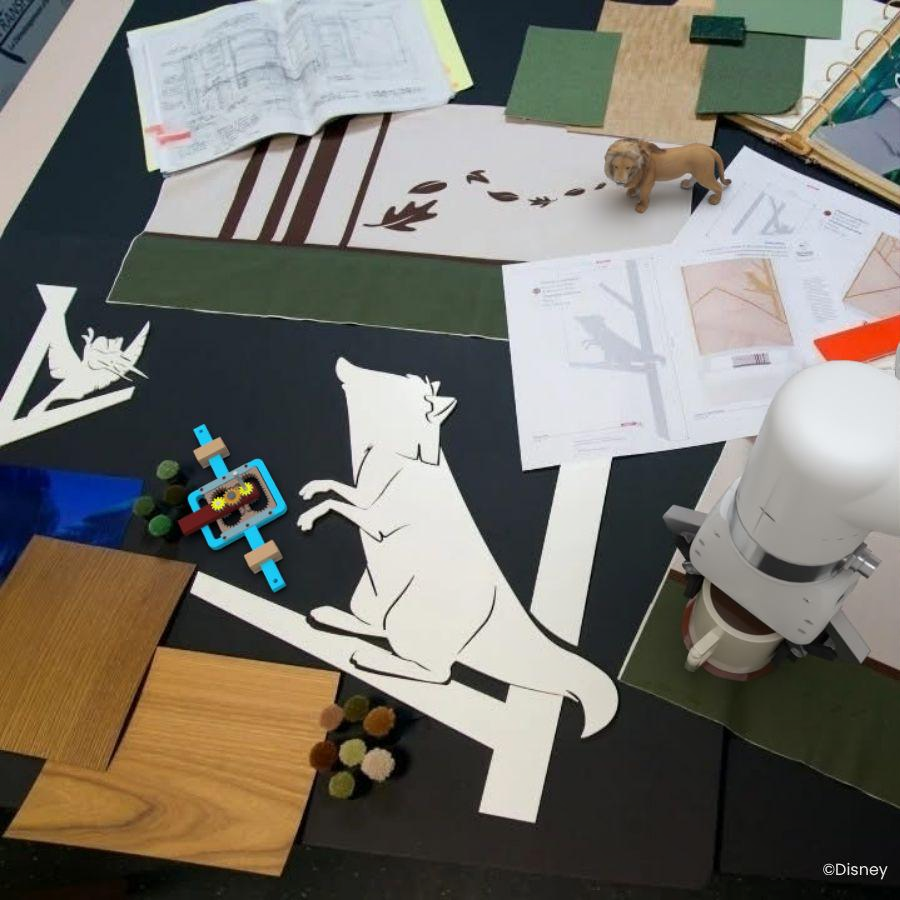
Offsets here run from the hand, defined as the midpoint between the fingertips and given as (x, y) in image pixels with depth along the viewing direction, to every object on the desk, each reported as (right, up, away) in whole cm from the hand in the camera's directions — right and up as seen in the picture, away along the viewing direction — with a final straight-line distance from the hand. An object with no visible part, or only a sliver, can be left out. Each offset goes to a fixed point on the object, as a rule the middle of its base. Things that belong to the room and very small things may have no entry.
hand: (740, 617), depth 67 cm
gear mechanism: (-43, +7, +15) cm, 46 cm away
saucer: (+1, -2, +4) cm, 4 cm away
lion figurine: (+1, +41, +29) cm, 50 cm away
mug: (-1, -2, +3) cm, 3 cm away
